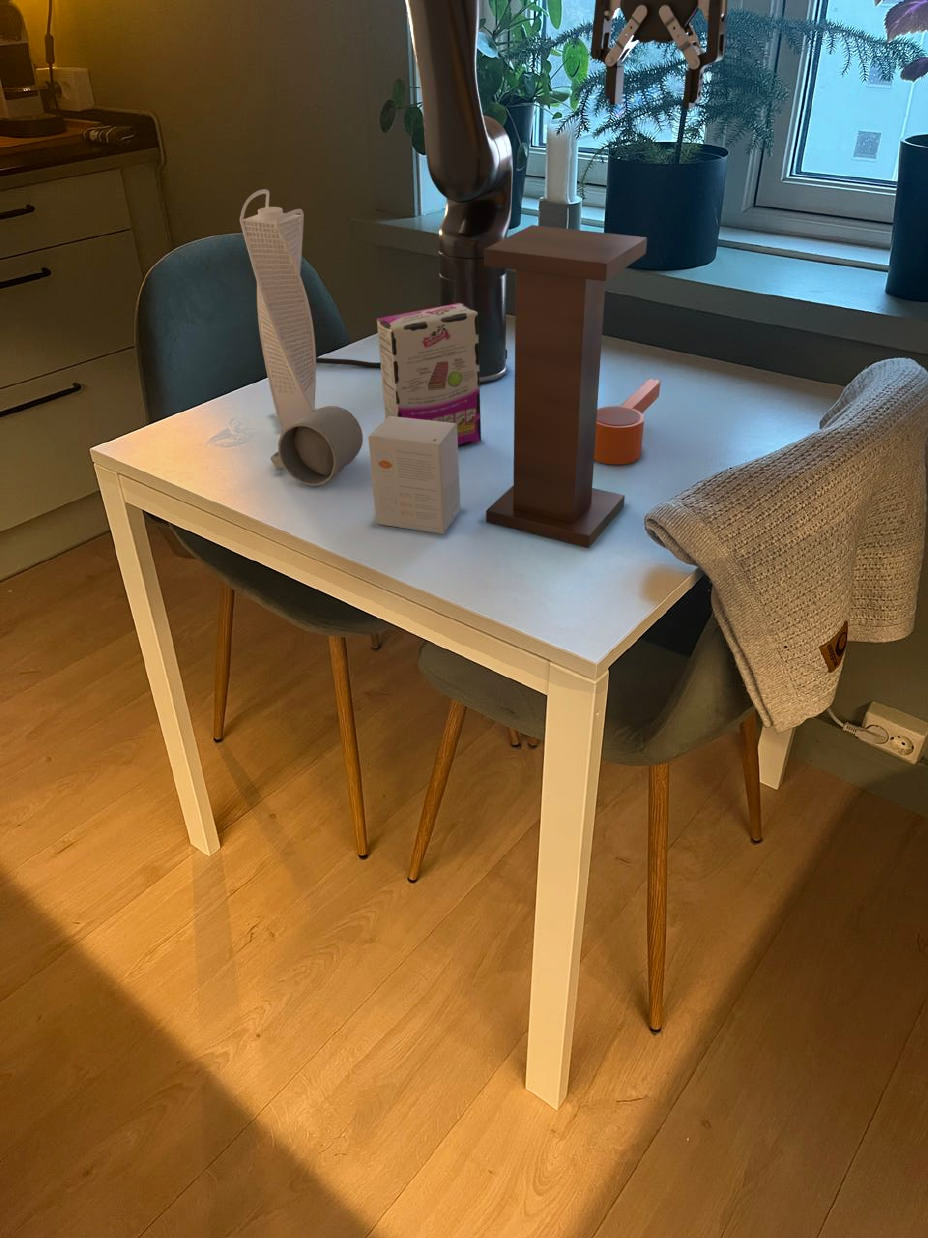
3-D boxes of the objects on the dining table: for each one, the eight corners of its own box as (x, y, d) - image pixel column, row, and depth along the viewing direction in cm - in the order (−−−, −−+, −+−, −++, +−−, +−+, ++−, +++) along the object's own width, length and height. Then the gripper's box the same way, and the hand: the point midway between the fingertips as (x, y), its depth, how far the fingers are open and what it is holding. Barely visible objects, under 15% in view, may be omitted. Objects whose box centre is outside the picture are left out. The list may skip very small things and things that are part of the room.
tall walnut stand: (526, 484, 111) (531, 224, 94) (624, 506, 106) (647, 237, 89) (485, 522, 104) (483, 248, 87) (588, 548, 99) (606, 263, 82)
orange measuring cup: (628, 410, 127) (631, 375, 125) (674, 419, 125) (678, 383, 122) (579, 458, 116) (581, 420, 113) (629, 469, 113) (632, 430, 111)
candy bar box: (463, 428, 124) (460, 300, 114) (482, 442, 120) (480, 311, 111) (384, 447, 120) (374, 316, 110) (401, 462, 116) (392, 328, 107)
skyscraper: (265, 413, 129) (232, 190, 113) (319, 405, 131) (294, 184, 115) (274, 436, 123) (240, 203, 107) (331, 428, 125) (306, 198, 109)
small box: (461, 511, 106) (459, 422, 100) (444, 536, 101) (440, 444, 95) (394, 501, 108) (388, 413, 102) (374, 525, 104) (367, 434, 98)
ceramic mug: (369, 461, 116) (363, 401, 112) (339, 491, 110) (331, 428, 106) (292, 451, 120) (284, 392, 115) (259, 479, 113) (248, 418, 109)
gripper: (586, -73, 97) (578, 107, 107) (724, -77, 91) (703, 114, 101) (614, -72, 103) (604, 99, 112) (746, -76, 97) (724, 104, 106)
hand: (651, 106), depth 106 cm, fingers open, 8 cm apart
